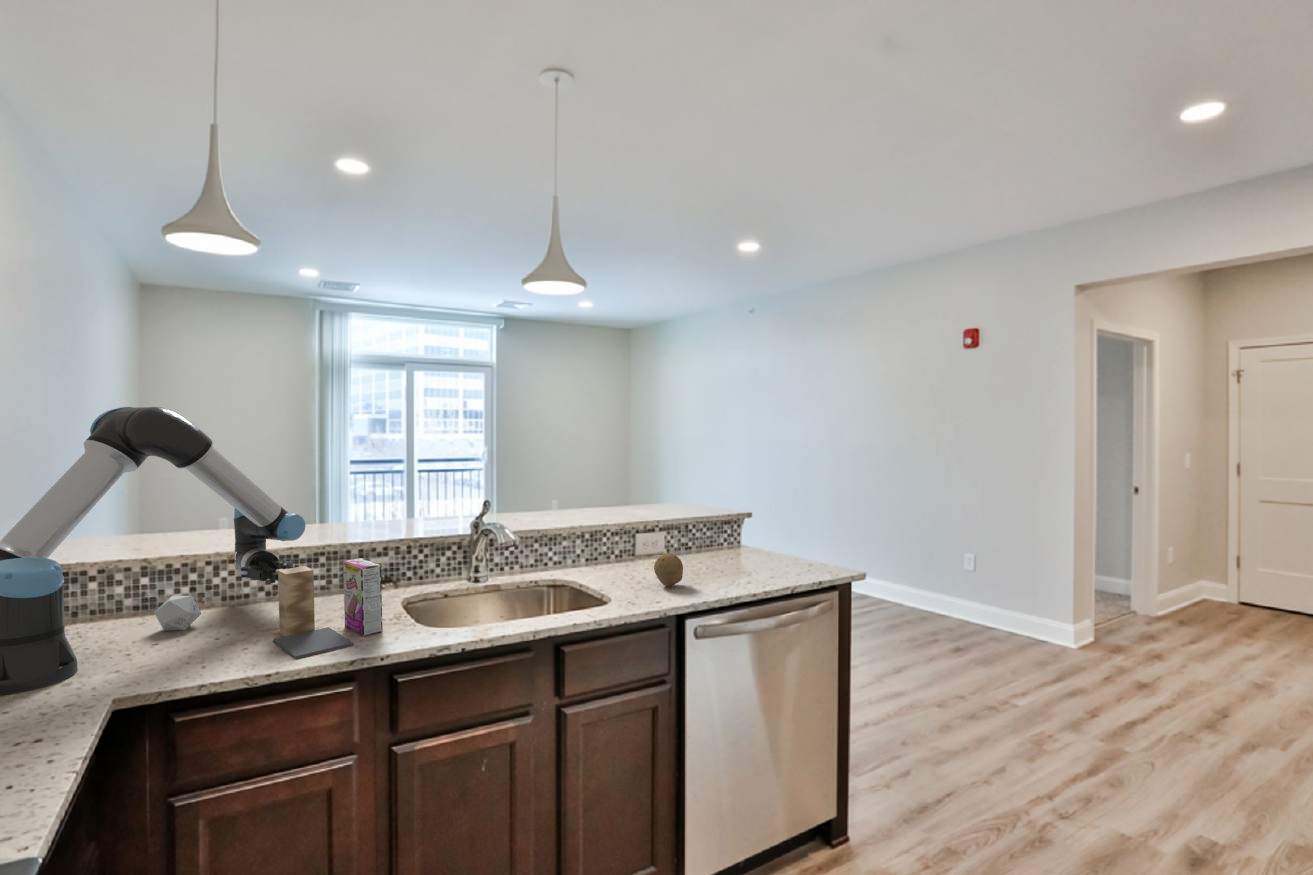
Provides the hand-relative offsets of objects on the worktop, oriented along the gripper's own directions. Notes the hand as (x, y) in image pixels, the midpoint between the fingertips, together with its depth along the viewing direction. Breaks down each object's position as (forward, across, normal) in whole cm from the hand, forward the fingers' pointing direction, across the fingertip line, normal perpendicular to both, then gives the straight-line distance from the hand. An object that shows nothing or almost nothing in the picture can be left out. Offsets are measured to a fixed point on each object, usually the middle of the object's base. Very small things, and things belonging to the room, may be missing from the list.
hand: (286, 578), depth 163 cm
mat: (+19, 0, -12) cm, 22 cm away
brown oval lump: (+42, -92, -12) cm, 102 cm away
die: (-17, +20, -12) cm, 29 cm away
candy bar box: (+17, -12, -12) cm, 24 cm away
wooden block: (+7, 0, -12) cm, 14 cm away
